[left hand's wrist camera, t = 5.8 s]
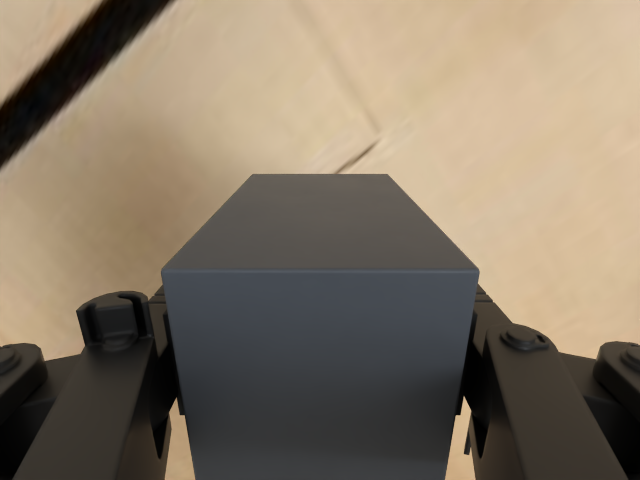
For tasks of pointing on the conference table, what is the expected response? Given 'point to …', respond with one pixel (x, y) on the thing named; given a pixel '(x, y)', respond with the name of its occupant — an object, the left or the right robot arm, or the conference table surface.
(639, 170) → the conference table surface
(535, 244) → the conference table surface
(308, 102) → the conference table surface
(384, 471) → the bar
